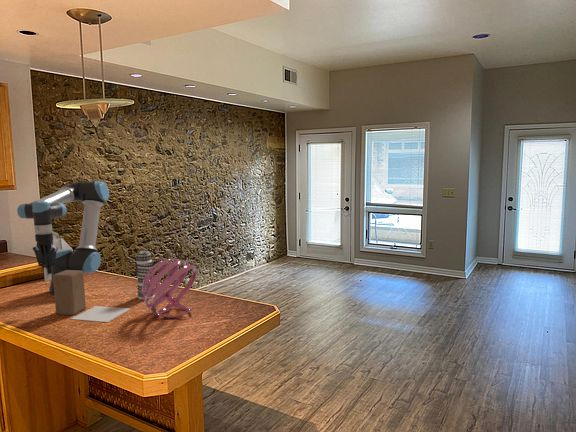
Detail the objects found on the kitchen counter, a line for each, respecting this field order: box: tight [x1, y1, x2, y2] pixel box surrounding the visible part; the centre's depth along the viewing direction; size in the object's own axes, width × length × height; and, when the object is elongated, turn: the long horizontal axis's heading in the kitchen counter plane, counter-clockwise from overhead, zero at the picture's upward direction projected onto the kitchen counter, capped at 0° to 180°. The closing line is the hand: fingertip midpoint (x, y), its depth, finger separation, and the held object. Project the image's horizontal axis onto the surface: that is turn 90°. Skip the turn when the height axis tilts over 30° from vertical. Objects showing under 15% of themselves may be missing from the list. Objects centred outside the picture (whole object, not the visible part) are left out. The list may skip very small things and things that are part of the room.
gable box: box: [51, 230, 74, 279], centre depth 287 cm, size 22×13×28 cm, turn 42°
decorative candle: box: [134, 250, 155, 300], centre depth 235 cm, size 9×9×25 cm
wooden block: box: [53, 270, 87, 316], centre depth 214 cm, size 10×10×20 cm
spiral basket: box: [142, 257, 198, 319], centre depth 209 cm, size 28×28×27 cm
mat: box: [70, 305, 131, 323], centre depth 212 cm, size 18×20×1 cm
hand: (48, 280), depth 217 cm, fingers closed
